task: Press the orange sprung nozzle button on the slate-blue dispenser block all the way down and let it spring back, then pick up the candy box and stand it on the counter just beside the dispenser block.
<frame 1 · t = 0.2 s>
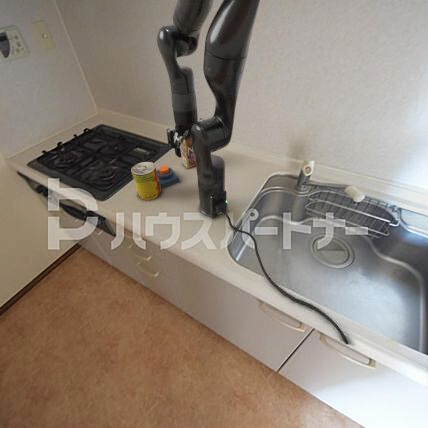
hand: (189, 152, 85), 17 cm above the worktop, tool pointing down, fingers open, 8 cm apart
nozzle: (164, 170, 100), point 5 cm above the worktop, slide at 0.1 cm
candy box: (193, 164, 111), on the worktop
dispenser: (166, 179, 103), on the worktop
yellow food can: (150, 193, 97), on the worktop
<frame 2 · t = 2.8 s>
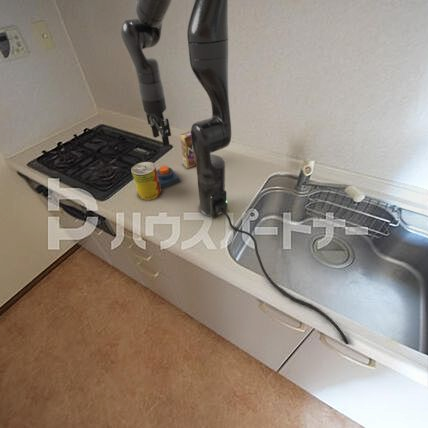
hand: (161, 141, 90), 18 cm above the worktop, tool pointing down, fingers open, 8 cm apart
nothing on the worktop moved.
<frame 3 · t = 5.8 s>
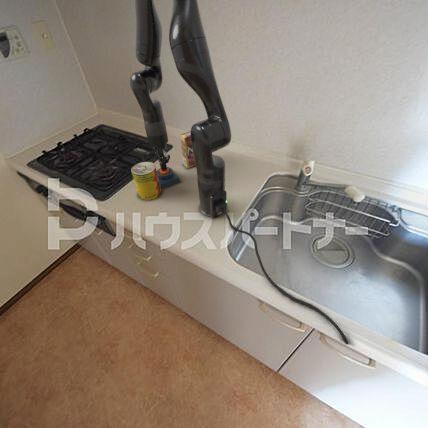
hand: (164, 169, 100), 5 cm above the worktop, tool pointing down, fingers closed
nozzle: (164, 172, 100), point 4 cm above the worktop, slide at -0.8 cm, touching gripper
everything else where it was.
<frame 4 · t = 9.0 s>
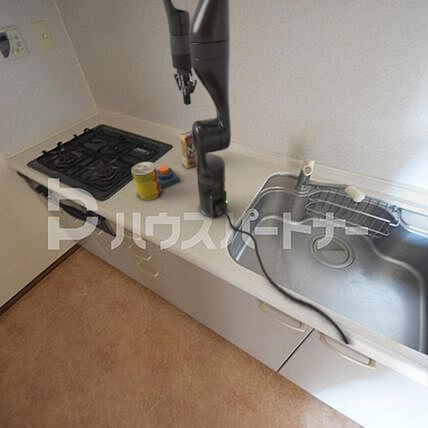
hand: (187, 104, 92), 27 cm above the worktop, tool pointing down, fingers closed
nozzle: (164, 170, 100), point 5 cm above the worktop, slide at 0.1 cm
everything else where it was.
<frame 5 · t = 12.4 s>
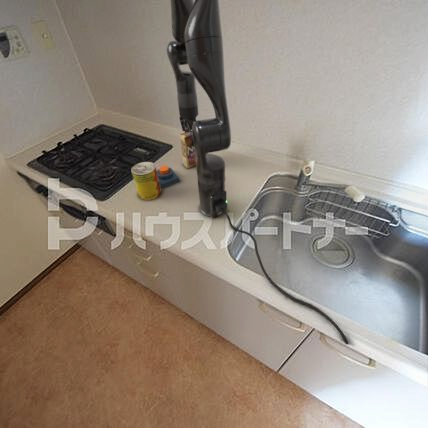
hand: (191, 143, 103), 10 cm above the worktop, tool pointing down, fingers closed on candy box, 4 cm apart
candy box: (193, 164, 111), on the worktop, touching gripper
everything else where it was.
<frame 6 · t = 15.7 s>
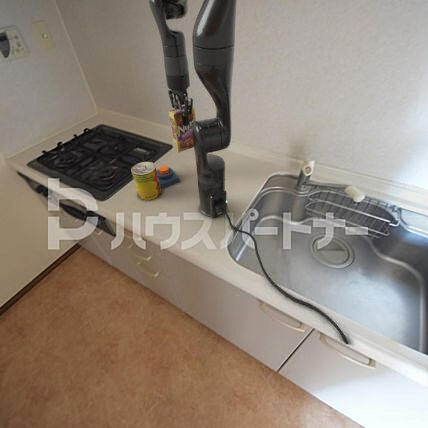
hand: (183, 122, 88), 23 cm above the worktop, tool pointing down, fingers closed on candy box, 4 cm apart
candy box: (186, 148, 96), point 13 cm above the worktop, touching gripper
everything else where it was.
when the fingers open (10 cm above the worktop, at t = 19.0 s): candy box stays where it is, on the worktop.
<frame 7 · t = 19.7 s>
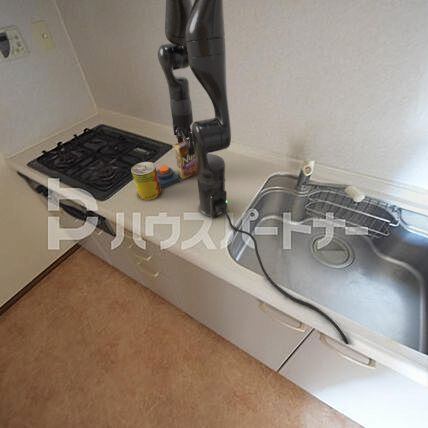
hand: (186, 150, 97), 12 cm above the worktop, tool pointing down, fingers open, 8 cm apart
candy box: (189, 174, 105), on the worktop
everything else where it was.
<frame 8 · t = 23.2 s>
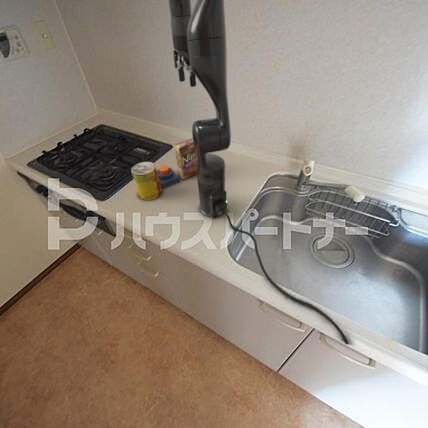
hand: (187, 83, 93), 32 cm above the worktop, tool pointing down, fingers open, 8 cm apart
nothing on the worktop moved.
at the end: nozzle pushed in 1.1 cm at the most during the clip, back to where it started at the end; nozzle slide at 0.1 cm; candy box 0.1 cm from the target spot on the worktop beside the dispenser, on the worktop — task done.
